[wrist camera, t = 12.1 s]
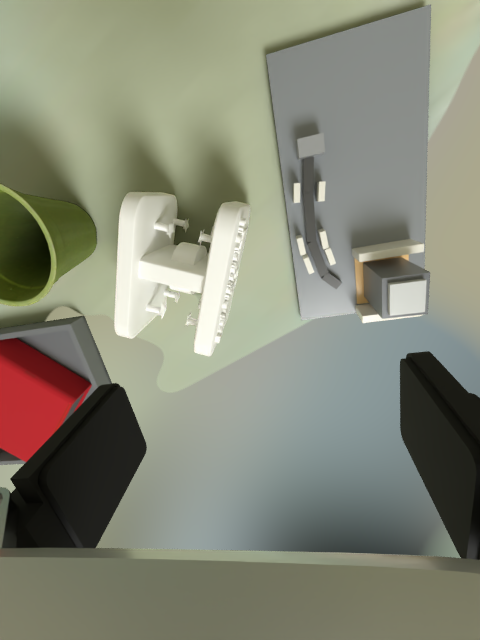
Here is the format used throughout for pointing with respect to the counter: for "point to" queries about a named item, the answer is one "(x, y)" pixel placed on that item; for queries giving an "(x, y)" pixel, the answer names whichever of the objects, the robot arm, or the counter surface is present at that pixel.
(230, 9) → the counter surface
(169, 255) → the cable organizer
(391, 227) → the board
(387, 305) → the block
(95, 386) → the tray
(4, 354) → the red device housing
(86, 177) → the counter surface
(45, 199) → the plant pot
